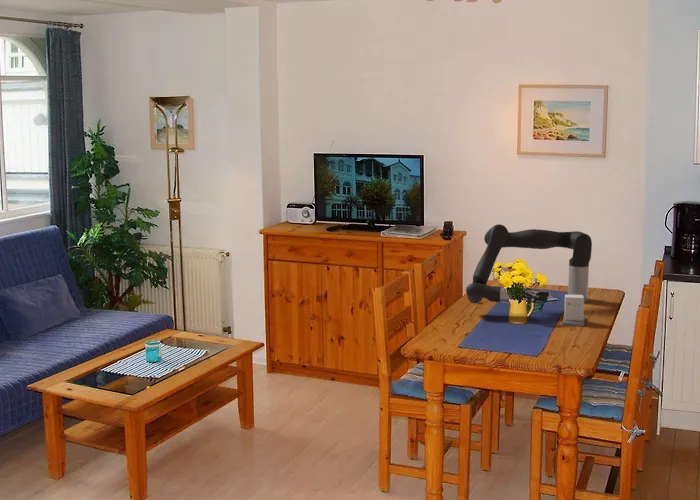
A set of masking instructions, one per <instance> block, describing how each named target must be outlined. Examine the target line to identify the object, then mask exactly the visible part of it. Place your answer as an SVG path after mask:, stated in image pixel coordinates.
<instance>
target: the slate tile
mask: <svg viewBox="0 0 700 500" xmlns="http://www.w3.org/2000/svg"><path fill="white" fill-rule="evenodd" d="M585 320H586V315H584V320H583V321H572V320H565V318H564V316H563V318H562V321H561V322H562V323H561V325H562V326H571V327H585Z"/></svg>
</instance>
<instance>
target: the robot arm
mask: <svg viewBox="0 0 700 500" xmlns="http://www.w3.org/2000/svg"><path fill="white" fill-rule="evenodd" d="M592 241H593V240H592V238H591V236H590V235H589V234H587V233H585V232H582V231H578V230H576V231H555V230H554V231H553V230H547V229H538V228H537V229H534V228H533V229H531V228H530V229H525V230H524V229H523V230H520V231H513V232H509V230H508V228H507V227H506V226H505V225H503V224H499V223H498V224H497V223H496V224H495V225H493V226H492V227H490V228H489V229H488V230H487V231H486V233H485V234H484V243H485V244H486V245H487V246H486V247H485V251H483V254H482V256H481V257H480V258H479V262H477V266H476V268H475V269H474V272H473V275H472V283H469V284H468V285H467V287H466V289H465V293H466V296H467V300H468V301H469V302H470V303H471V304H478V303H480V302H481V301H482V300H483V299H487V301H489V302H493V303H504V304H510V303H509V299H510V297H509V295H508V294H507V292H506V291H505V288H504V287H505V286H491V285H489V284H487V283H488V280H489V278H490V275H491V274H492V270H493V268H494V266H495V263H496V260H497V258H498V256H499V254H500V252H501V249H503V248H520V249H534V250H546V249H547V250H548V249H552V248H563V249H564V248H565V249H569V250H570V249H571V250H573V251H572V257H571V258H570V259H569V261H568V285H567V286H568V287H567V295H583V297H584V303H586V302H588V295H589V293H588V291H589V272H590V271H589V270H590V269H589V268H590V267H589V266H590V262H591V259H592V249H593V242H592ZM525 291H527V292H526V296H525V300H526V302H525V303H532V304H533V303H534V304H535V303H536V304H537V303H539V302H546V303H547V302H548V298H549V296H550V292H549V291H541V290H539V289H525Z"/></svg>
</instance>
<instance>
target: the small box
mask: <svg viewBox="0 0 700 500" xmlns="http://www.w3.org/2000/svg"><path fill="white" fill-rule="evenodd" d="M563 310H564V311H563V312H564V313H563V314H564V315H563V317H564V318H565V320H572V321H583V320H584V316H585V315H584V312H585V302H584V297H583V295H568V293H567V294H564V309H563ZM584 321H585V320H584Z"/></svg>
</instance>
